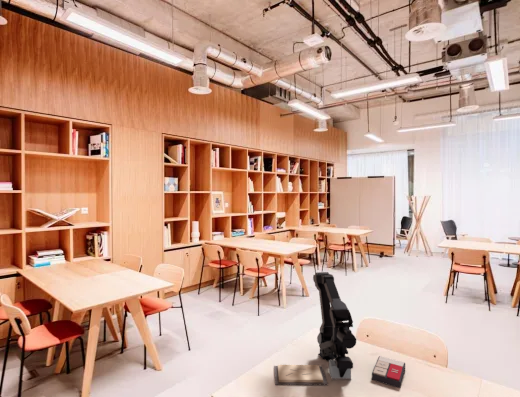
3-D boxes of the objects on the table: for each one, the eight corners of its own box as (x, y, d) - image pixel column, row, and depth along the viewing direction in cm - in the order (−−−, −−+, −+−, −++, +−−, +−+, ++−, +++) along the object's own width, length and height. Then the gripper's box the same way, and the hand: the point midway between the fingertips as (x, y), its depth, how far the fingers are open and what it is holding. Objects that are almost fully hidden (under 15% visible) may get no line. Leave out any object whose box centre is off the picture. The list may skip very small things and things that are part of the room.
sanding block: (347, 372, 135) (347, 359, 135) (351, 379, 130) (351, 366, 130) (329, 372, 135) (329, 359, 135) (331, 379, 130) (331, 366, 130)
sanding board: (321, 367, 139) (321, 363, 139) (327, 385, 126) (327, 381, 126) (274, 367, 140) (274, 363, 140) (275, 385, 127) (275, 381, 127)
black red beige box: (371, 372, 130) (378, 354, 143) (371, 382, 130) (379, 363, 143) (400, 380, 124) (405, 360, 137) (400, 390, 124) (405, 370, 137)
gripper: (317, 327, 142) (317, 361, 142) (324, 347, 123) (324, 387, 124) (341, 327, 142) (341, 361, 142) (353, 347, 123) (353, 387, 123)
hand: (339, 373), depth 133 cm, fingers closed on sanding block, 5 cm apart
